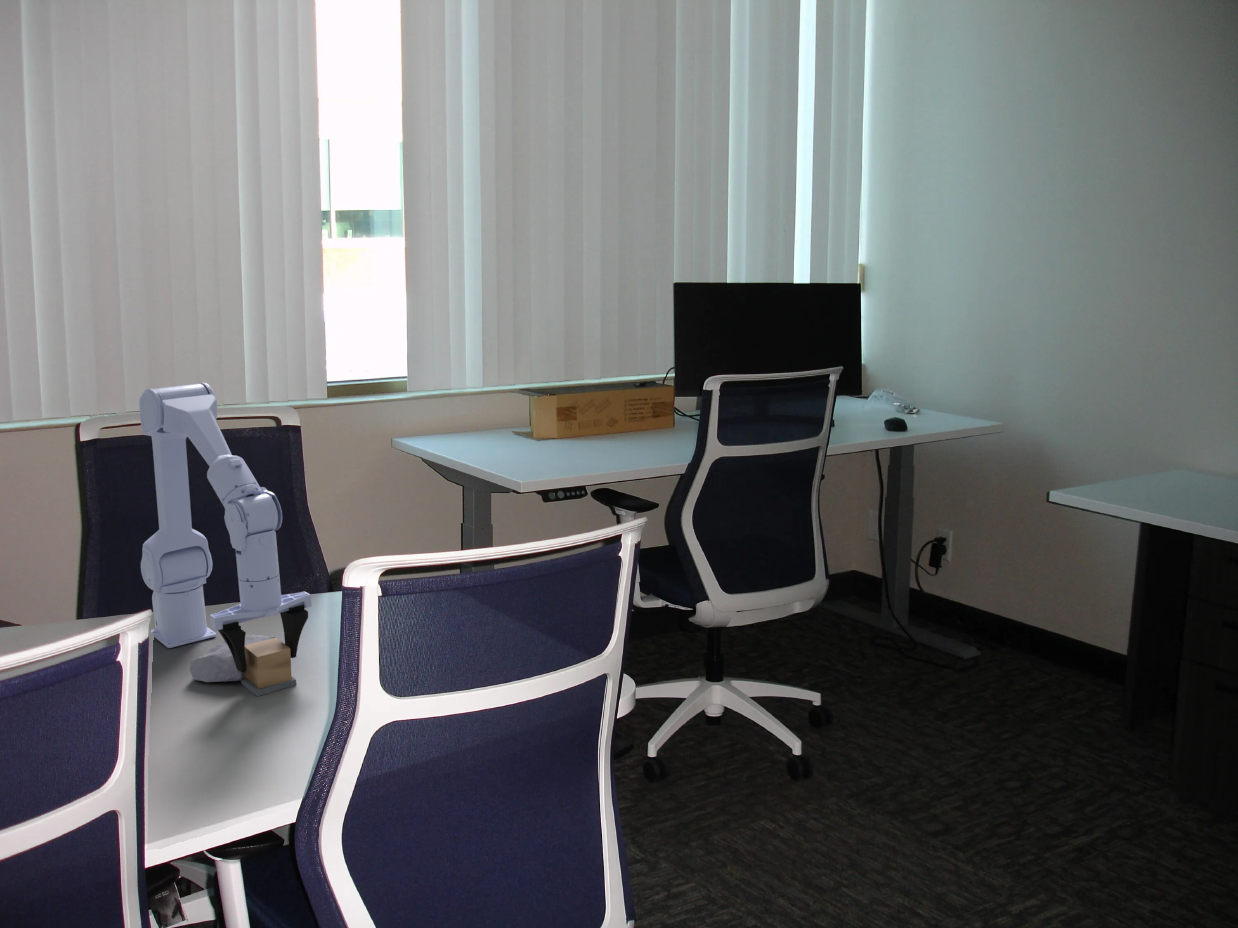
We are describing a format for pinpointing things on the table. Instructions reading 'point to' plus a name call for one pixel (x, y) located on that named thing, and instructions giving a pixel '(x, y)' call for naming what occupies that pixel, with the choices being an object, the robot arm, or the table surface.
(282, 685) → the charcoal pad
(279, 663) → the tan cube
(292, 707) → the table surface
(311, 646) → the table surface
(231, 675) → the stone block
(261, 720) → the table surface
